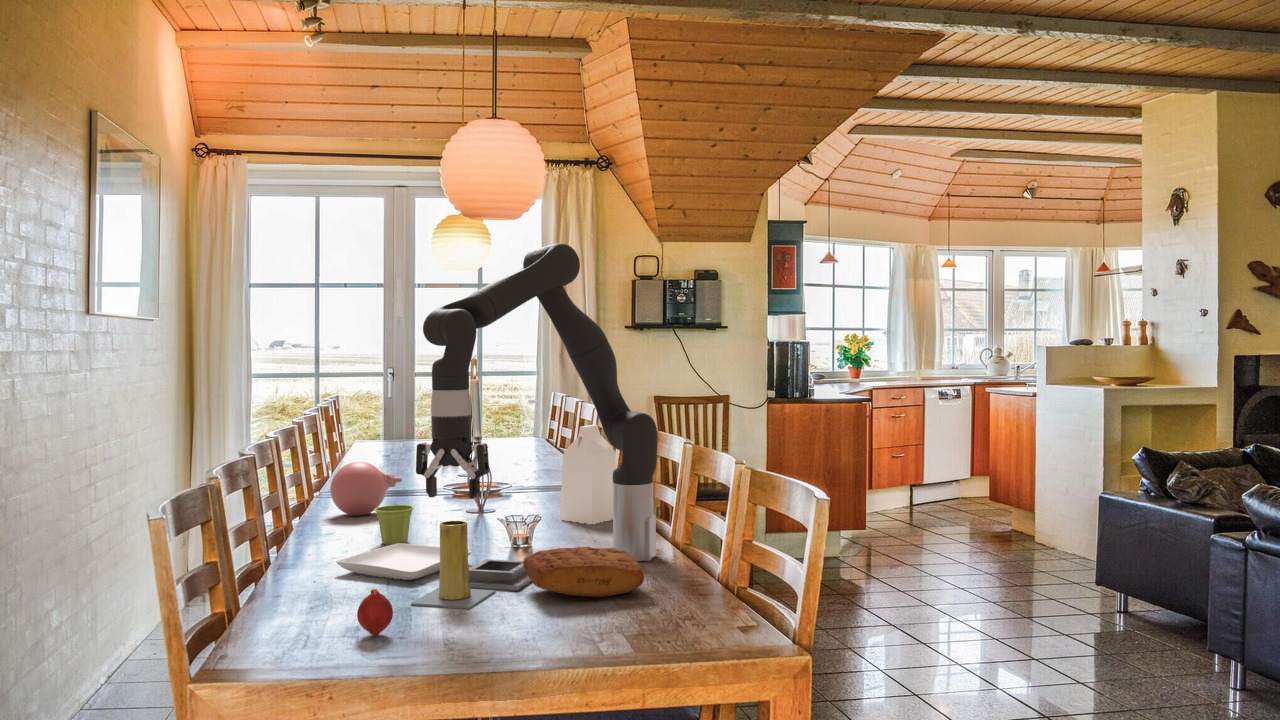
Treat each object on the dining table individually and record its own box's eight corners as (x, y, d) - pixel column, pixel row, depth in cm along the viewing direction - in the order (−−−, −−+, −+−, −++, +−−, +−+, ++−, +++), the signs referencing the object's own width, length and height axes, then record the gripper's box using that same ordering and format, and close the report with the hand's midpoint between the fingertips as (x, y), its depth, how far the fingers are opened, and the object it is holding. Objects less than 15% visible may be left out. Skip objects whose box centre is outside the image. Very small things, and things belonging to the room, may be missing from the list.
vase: (463, 601, 179) (461, 526, 179) (433, 599, 180) (431, 525, 180) (475, 592, 185) (474, 520, 185) (446, 591, 186) (445, 519, 186)
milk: (587, 513, 272) (586, 423, 271) (619, 517, 265) (618, 425, 265) (559, 520, 262) (558, 426, 262) (592, 524, 255) (591, 428, 255)
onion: (361, 630, 163) (360, 584, 163) (395, 629, 163) (395, 583, 163) (354, 641, 157) (353, 593, 157) (389, 640, 157) (389, 592, 157)
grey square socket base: (542, 573, 201) (542, 560, 201) (518, 590, 188) (517, 575, 188) (481, 570, 205) (481, 556, 205) (453, 586, 191) (453, 572, 191)
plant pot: (367, 545, 232) (366, 509, 232) (390, 537, 240) (390, 503, 240) (398, 548, 228) (398, 512, 228) (421, 540, 237) (421, 505, 237)
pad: (495, 592, 187) (495, 590, 187) (469, 609, 175) (469, 607, 175) (439, 588, 190) (439, 586, 190) (410, 605, 178) (410, 603, 178)
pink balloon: (405, 516, 269) (404, 462, 269) (331, 521, 262) (331, 466, 262) (400, 507, 284) (399, 456, 283) (329, 512, 277) (329, 460, 277)
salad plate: (474, 564, 212) (474, 549, 212) (414, 587, 193) (413, 570, 193) (398, 556, 221) (398, 541, 221) (333, 577, 202) (333, 561, 202)
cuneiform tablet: (534, 609, 175) (534, 566, 175) (521, 586, 192) (520, 547, 191) (649, 599, 181) (649, 557, 181) (626, 578, 198) (626, 540, 197)
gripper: (493, 411, 184) (495, 495, 184) (426, 411, 187) (428, 493, 187) (477, 415, 176) (479, 501, 177) (408, 414, 180) (409, 499, 180)
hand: (452, 497), depth 182 cm, fingers open, 8 cm apart
